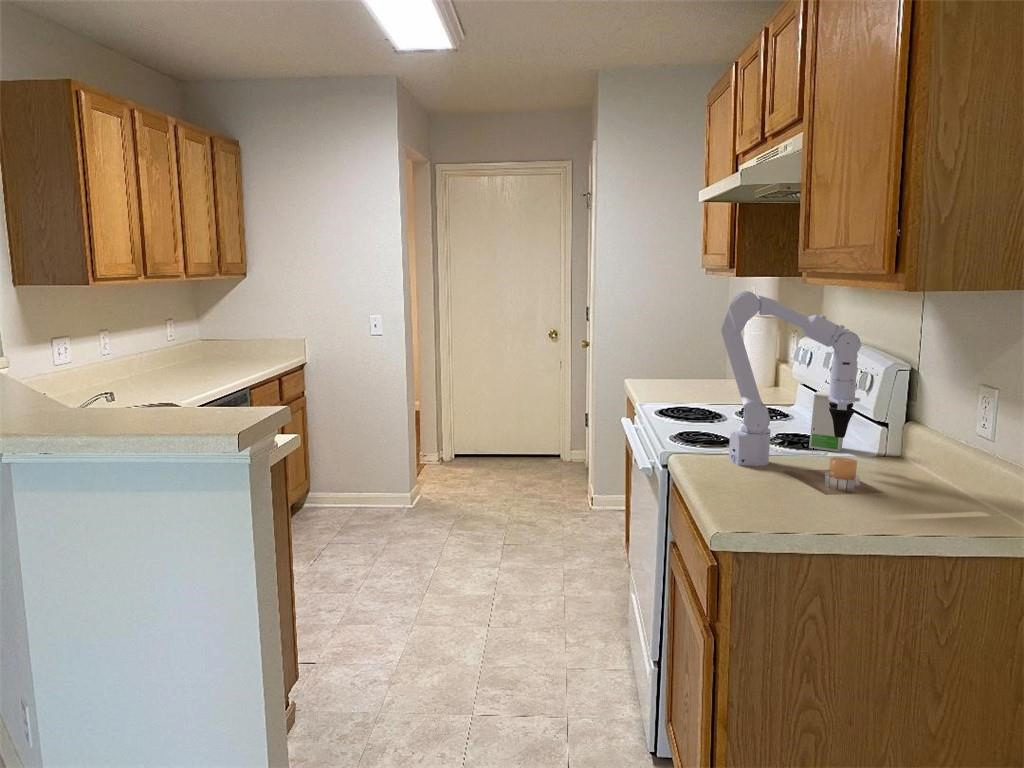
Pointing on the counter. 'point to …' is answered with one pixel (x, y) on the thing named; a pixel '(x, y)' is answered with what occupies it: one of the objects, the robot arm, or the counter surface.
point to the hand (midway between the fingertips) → (839, 434)
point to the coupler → (842, 468)
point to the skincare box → (823, 425)
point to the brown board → (818, 480)
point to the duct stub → (842, 483)
